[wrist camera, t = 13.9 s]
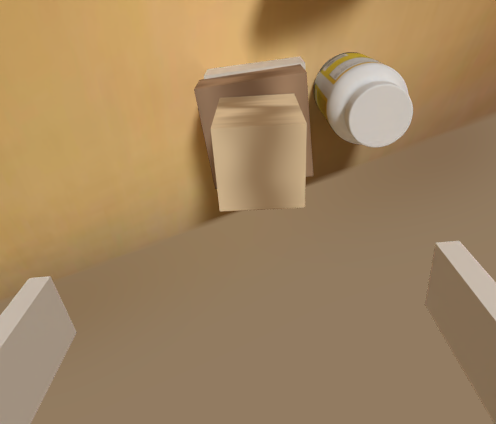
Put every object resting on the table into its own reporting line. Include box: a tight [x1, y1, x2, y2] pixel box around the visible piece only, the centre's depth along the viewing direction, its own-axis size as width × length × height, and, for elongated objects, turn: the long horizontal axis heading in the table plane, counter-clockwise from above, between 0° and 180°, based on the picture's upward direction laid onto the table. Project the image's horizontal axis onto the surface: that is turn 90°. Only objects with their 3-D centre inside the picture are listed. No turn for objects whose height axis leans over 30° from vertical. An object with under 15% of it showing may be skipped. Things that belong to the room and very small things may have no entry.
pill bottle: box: [314, 52, 413, 147], centre depth 32 cm, size 6×6×12 cm
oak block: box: [211, 94, 307, 211], centre depth 28 cm, size 6×6×8 cm
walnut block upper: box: [194, 64, 313, 189], centre depth 34 cm, size 9×9×4 cm
